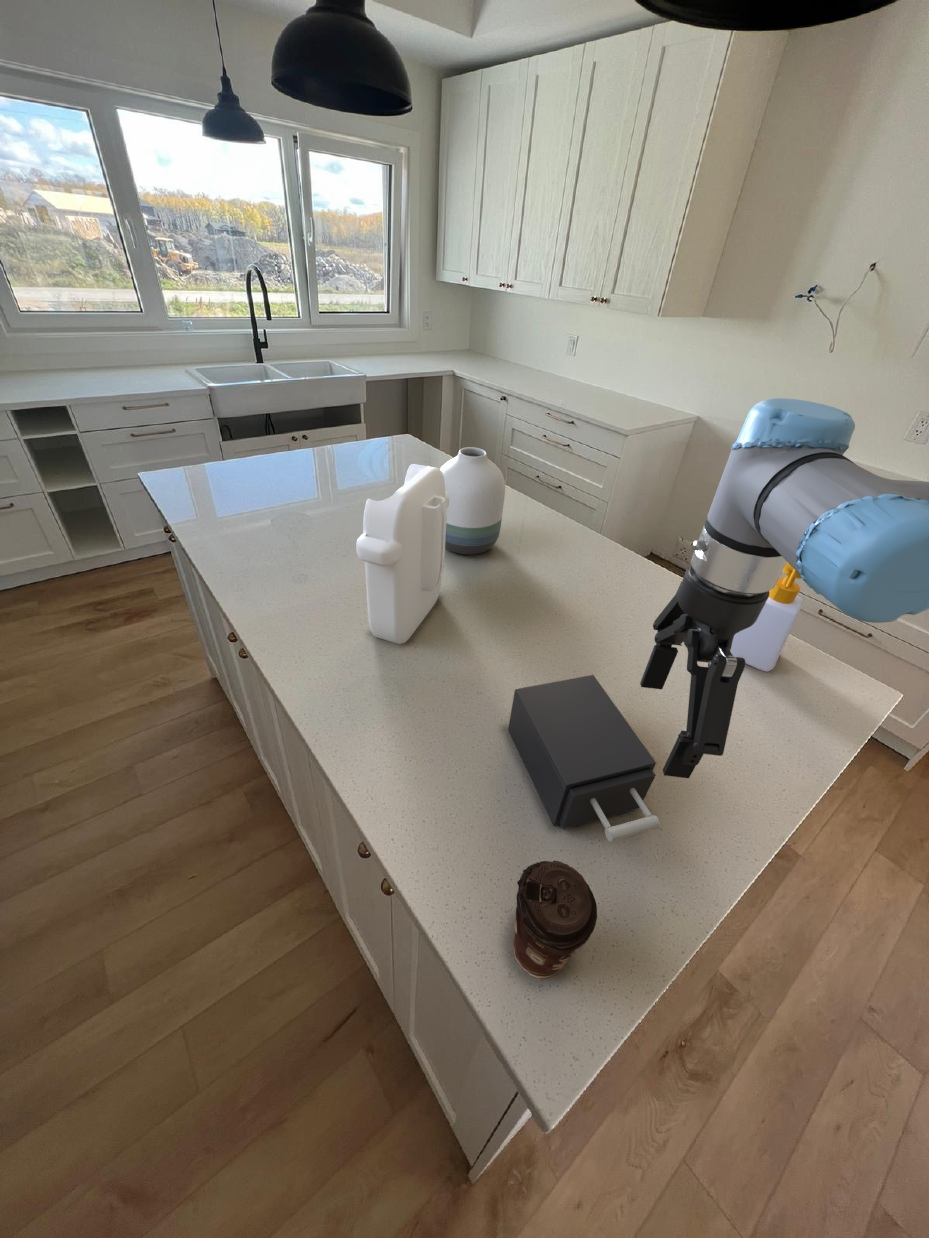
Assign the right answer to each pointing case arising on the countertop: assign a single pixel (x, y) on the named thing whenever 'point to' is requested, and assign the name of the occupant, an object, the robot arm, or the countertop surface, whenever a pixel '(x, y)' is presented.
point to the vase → (473, 501)
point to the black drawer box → (572, 738)
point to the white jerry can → (404, 553)
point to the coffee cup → (551, 917)
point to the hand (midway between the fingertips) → (662, 726)
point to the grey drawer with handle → (611, 804)
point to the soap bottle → (770, 624)
